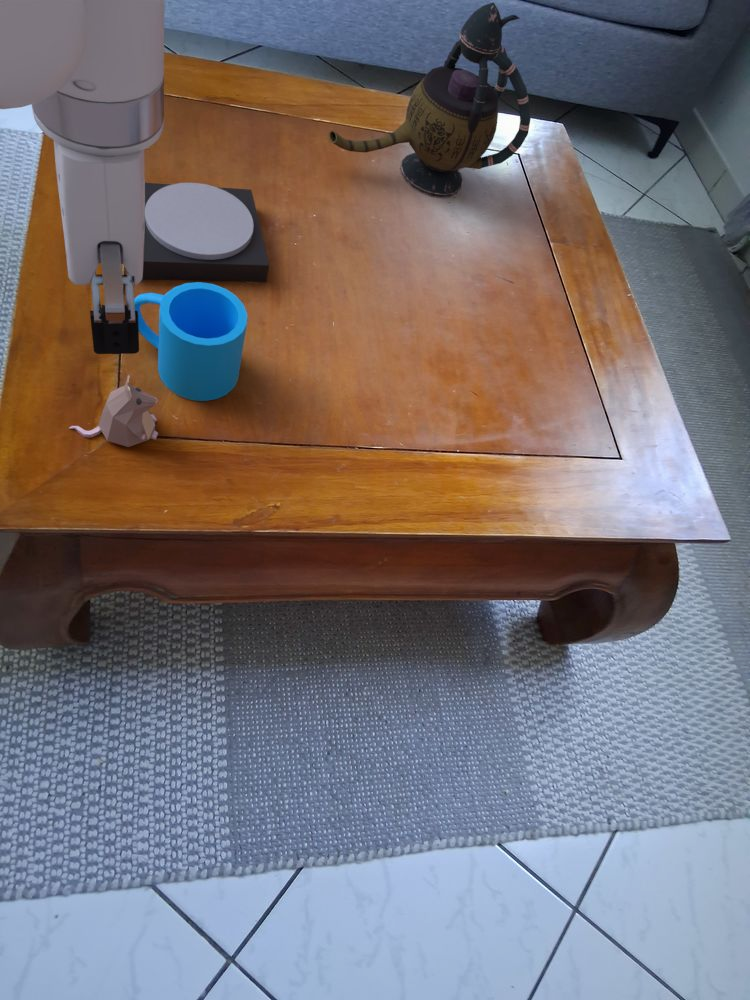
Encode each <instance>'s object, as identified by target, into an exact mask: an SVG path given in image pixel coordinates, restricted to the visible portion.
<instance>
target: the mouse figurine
mask: <svg viewBox="0 0 750 1000" xmlns="http://www.w3.org/2000/svg"><path fill="white" fill-rule="evenodd" d="M130 378H131V375H130V374H127V376H126V381H125V384H124V385H122V386H119V387H118V388H116V389H113V390H111V392H109V395H108V397H107V399H106V402H105V404H104V407H103V409H102V412H101V415H100V418H99V420H98V424H97V426H96V427H95V428H93V429H90V430H86V429H84V428H82V427H80V426H79V425H71V426H69V427H68V429H69V430H75V431H76V432H77V433H78V434H79V435H80V436H81V437H83V438H94V437H96V436H99V435H100V434H101V433H102V434H103V436H104V438H105V439H106V441H107V442H109V443H113V444H117V445H120V446H123V447H127V448H130V447H132V446H135V445H138V444H141V443H144V442H146V441H147V442H148V441H149V440H150V439H152V440H157V438H158V436H159V432H157V431H156V422H158V419H157V418H156V416H155V414H151V413H150V412H149V410H150V409H152V408H153V407H154V406H155V405H156V404H157V403H158V398H157V397H155V396H154V395H151V394H149V393H146V392H145V391H143V390H141V389H140V387H135V386H133V385H131V384H129V383H130V380H131V379H130Z"/></svg>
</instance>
